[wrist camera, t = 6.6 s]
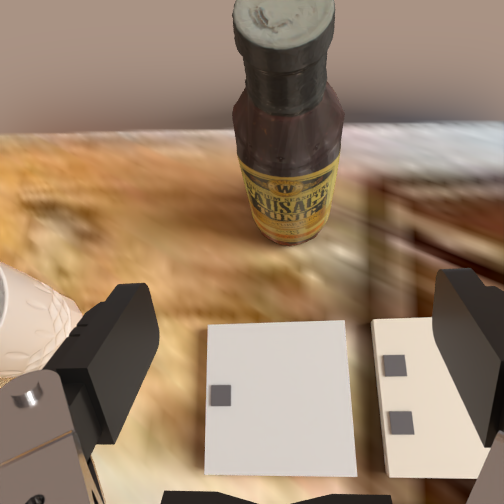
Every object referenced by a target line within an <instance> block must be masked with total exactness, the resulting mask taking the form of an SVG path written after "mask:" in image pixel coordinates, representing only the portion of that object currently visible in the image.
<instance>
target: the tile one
mask: <svg viewBox="0 0 504 504" xmlns="http://www.w3.org/2000/svg"><path fill="white" fill-rule="evenodd" d="M204 475H260V476H330V477H357V468H356V455H355V443H354V431H353V419H352V406H351V394H350V382H349V369H348V357H347V345H346V332H345V320H339V321H309V322H279V323H249V324H218V325H208V342H207V384H206V427H205V469H204Z"/></svg>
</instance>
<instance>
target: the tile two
mask: <svg viewBox="0 0 504 504" xmlns="http://www.w3.org/2000/svg"><path fill="white" fill-rule="evenodd" d="M371 331H372V341H373V351H374V361H375V371H376V380H377V390H378V400H379V410H380V420H381V430H382V440H383V450H384V460H385V470H386V474H387V475H388V476H389V477H400V478H470V479H477V478H478V476H479V474H480V471H481V469H482V467H483V465H484V462H485V460H486V458H487V455H488V453H489V451H490V449H491V448H484V446H483V444H482V442H481V440H480V438H479V435H478V433H477V431H476V429H475V427H474V425H473V423H472V420H471V418H470V416H469V414H468V412H467V410H466V407H465V405H464V403H463V401H462V399H461V397H460V395H459V392H458V390H457V388H456V386H455V384H454V382H453V380H452V377H451V375H450V373H449V371H448V369H447V367H446V364H445V362H444V360H443V358H442V356H441V354H440V352H439V349H438V347H437V345H436V343H435V340H434V336H433V330H432V317H429V318H399V319H373V320H372V322H371Z"/></svg>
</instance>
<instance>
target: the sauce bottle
mask: <svg viewBox="0 0 504 504" xmlns="http://www.w3.org/2000/svg"><path fill="white" fill-rule="evenodd" d="M232 17H233V28H234V34H235V38H234V39H235V44H236V47H237V50H238V51H239V53H240V54H241V55H242V56H243V61H244V66H245V73H246V80H245V83H246V87H245V89H244V91H243V92H242V94H241V96H240V98H239V100H238V101H237V103H236V104H235V105H234V107H233V113H232V116H233V124H234V131H235V137H236V144H237V155H238V159H239V164H240V168H241V172H242V176H243V180H244V184H245V188H246V192H247V196H248V200H249V204H250V208H251V212H252V216H253V219H254V221H255V223H256V224H257V226H258V228H259V229H260V230H261V232H262V234H263V235H264V236H266V237H267V238H269V239H270V240H272V241H274V242H276V243H279V244H281V245H288V246H292V245H298V244H301V243H304V242H307V241H308V240H311V239H313V238H315V237H316V236H317V234H318V233H319V232H320V230H321V229H322V228H323V226H324V225H325V223H326V222H327V220H328V217H329V213H330V208H331V202H332V197H333V192H334V187H335V182H336V176H337V170H338V164H339V157H340V149H341V136H342V128H343V121H344V115H345V114H344V111H343V109H342V107H341V104H340V102H339V99H338V97H337V94H336V93H335V91H334V90H333V88H332V87H331V86H330V85H329V83H328V82H327V71H326V60H327V50H328V48H329V45H330V43H331V41H332V38H333V34H334V21H335V3H334V0H236V2H235V4H234V10H233V14H232Z"/></svg>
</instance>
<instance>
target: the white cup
mask: <svg viewBox="0 0 504 504" xmlns="http://www.w3.org/2000/svg"><path fill="white" fill-rule="evenodd" d="M82 317H83V316H82V313H81V312H80V310H79V308H78V307H77V305H76V304H75V302H74V301H73V300H72V299H70V298H68V297H66V296H64V295H62V294H60V293H58V292H56V291H55V290H53V289H52V288H51V287H50V286H48V285H46V284H44V283H42V282H41V281H39V280H37V279H35V278H33V277H31V276H30V275H28V274H26V273H24V272H22V271H19V270H17V269H15V268H13V267H11V266H9V265H7V264H5V263H3V262H1V261H0V378H10V377H18V376H20V375H23V374H25V373H28V372H32V371H36V370H42V368H43V367H44V366H45V365H46V363H47V362H48V361H49V359H50V358H51V357H52V356H53V354H54V353H55V352H56V350H57V349H58V348H59V347H60V345H61V344H62V343H63V341H64V340H65V339H66V337H69V334H70V332H71V331H72V330H73V328H74V327H76V326H77V323H78V322H79V321H80V319H81V318H82Z"/></svg>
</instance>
